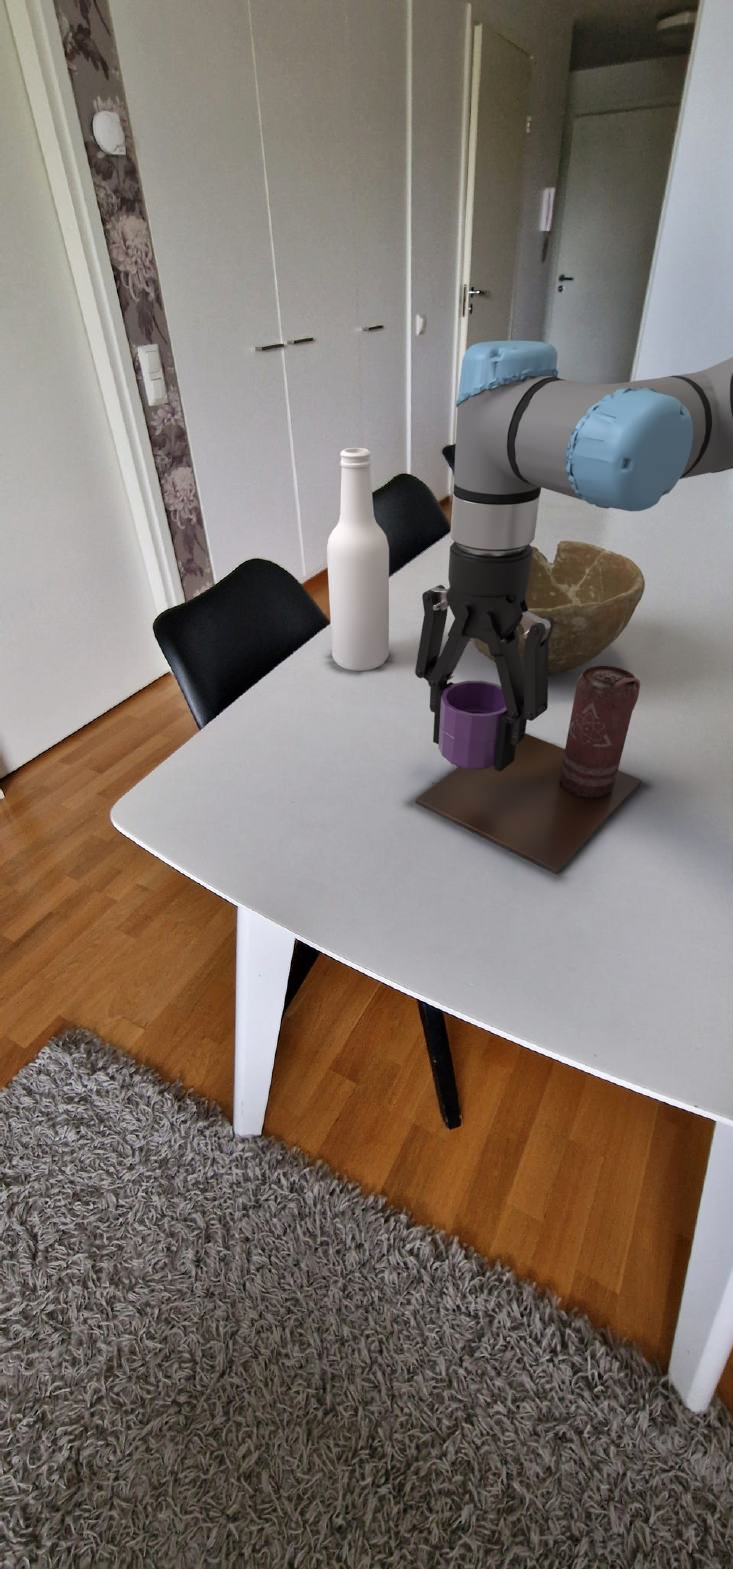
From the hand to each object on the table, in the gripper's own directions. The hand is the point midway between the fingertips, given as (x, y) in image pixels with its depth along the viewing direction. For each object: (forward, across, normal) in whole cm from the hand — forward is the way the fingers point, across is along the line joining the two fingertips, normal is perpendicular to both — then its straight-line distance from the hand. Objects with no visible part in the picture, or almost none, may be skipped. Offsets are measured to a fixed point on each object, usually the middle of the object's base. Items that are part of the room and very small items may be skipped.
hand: (472, 751), depth 77 cm
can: (+6, -10, -10) cm, 15 cm away
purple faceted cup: (0, 0, 0) cm, 0 cm away
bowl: (+7, +12, -34) cm, 37 cm away
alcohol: (+7, +33, -18) cm, 38 cm away
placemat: (+6, -5, -5) cm, 9 cm away
